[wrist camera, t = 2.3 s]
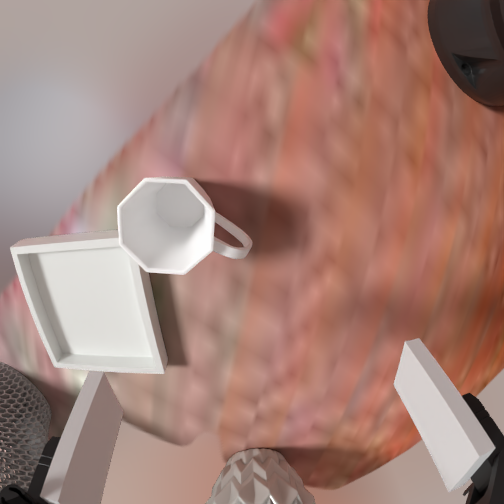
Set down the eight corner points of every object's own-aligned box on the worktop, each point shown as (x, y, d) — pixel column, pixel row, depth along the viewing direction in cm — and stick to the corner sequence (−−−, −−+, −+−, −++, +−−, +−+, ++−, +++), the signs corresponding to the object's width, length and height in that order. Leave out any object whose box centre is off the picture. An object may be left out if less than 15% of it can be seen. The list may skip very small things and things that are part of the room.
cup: (163, 147, 26) (136, 157, 18) (266, 197, 28) (278, 224, 20) (133, 218, 28) (101, 251, 20) (231, 262, 30) (230, 309, 23)
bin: (22, 239, 28) (9, 247, 25) (141, 227, 28) (133, 236, 26) (61, 354, 34) (54, 367, 31) (168, 358, 34) (164, 373, 32)
